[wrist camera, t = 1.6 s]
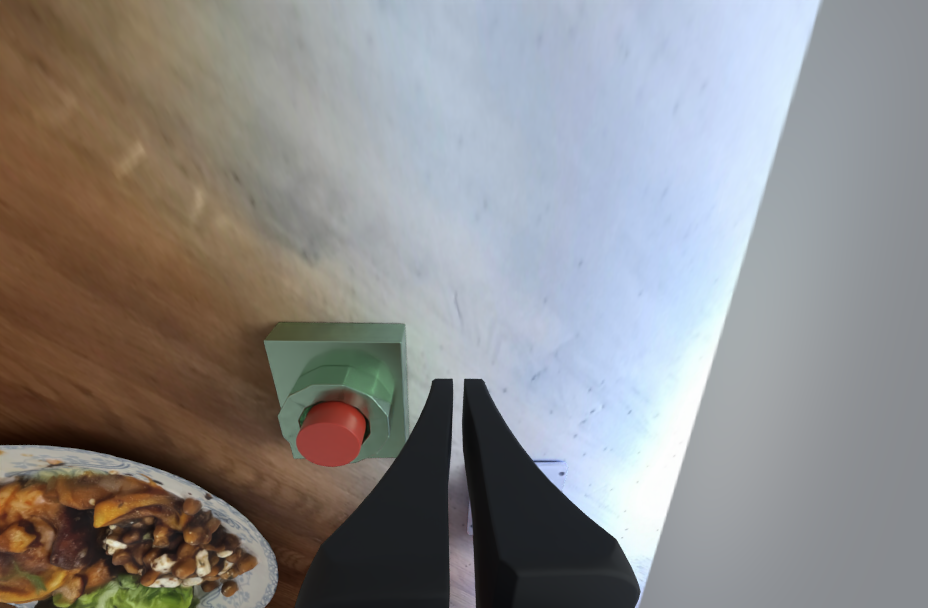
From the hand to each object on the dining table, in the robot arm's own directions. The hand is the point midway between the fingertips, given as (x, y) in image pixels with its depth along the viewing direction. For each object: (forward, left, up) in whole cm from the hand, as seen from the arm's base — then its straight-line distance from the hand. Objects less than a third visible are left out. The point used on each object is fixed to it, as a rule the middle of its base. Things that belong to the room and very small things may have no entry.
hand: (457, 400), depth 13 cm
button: (-8, +7, -7) cm, 13 cm away
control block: (-8, +7, -10) cm, 15 cm away
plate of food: (-25, +28, -11) cm, 39 cm away
